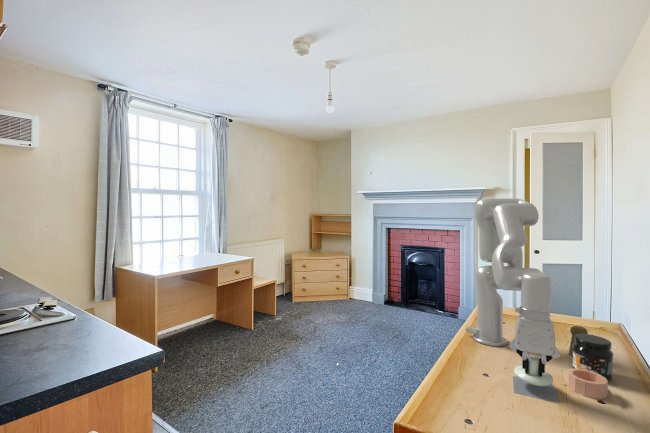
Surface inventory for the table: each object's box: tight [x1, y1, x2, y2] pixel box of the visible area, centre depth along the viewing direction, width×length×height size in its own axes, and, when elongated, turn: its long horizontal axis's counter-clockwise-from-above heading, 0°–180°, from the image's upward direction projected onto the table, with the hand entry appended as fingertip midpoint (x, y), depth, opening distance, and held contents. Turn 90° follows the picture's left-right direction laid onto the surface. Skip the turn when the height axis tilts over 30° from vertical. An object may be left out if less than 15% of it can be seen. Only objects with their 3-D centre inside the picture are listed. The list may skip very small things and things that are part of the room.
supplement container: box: [571, 333, 614, 382], centre depth 108 cm, size 10×10×12 cm
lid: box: [513, 355, 554, 386], centre depth 99 cm, size 10×10×6 cm
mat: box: [512, 375, 560, 404], centre depth 98 cm, size 11×11×1 cm
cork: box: [568, 325, 589, 358], centre depth 122 cm, size 6×6×11 cm
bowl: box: [566, 367, 609, 400], centre depth 98 cm, size 9×9×5 cm
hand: (533, 372), depth 99 cm, fingers closed on lid, 3 cm apart
